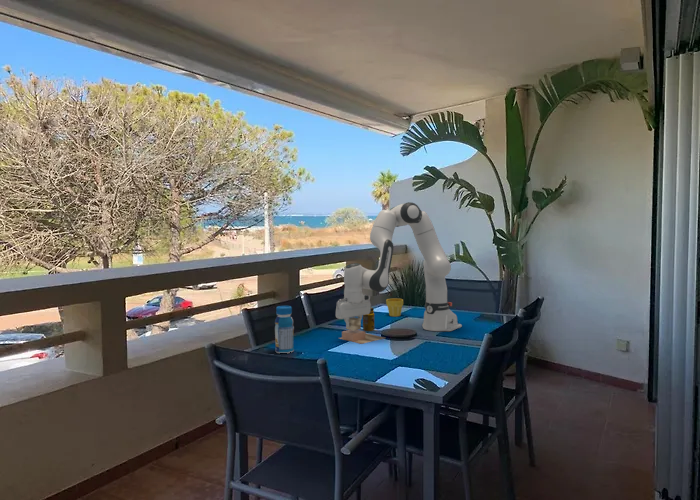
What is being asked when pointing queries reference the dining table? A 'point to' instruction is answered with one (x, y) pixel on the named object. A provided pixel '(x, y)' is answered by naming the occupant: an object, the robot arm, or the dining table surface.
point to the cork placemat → (367, 339)
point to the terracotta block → (353, 335)
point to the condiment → (369, 321)
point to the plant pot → (394, 306)
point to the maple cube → (354, 324)
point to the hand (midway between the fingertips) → (353, 325)
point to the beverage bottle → (284, 330)
